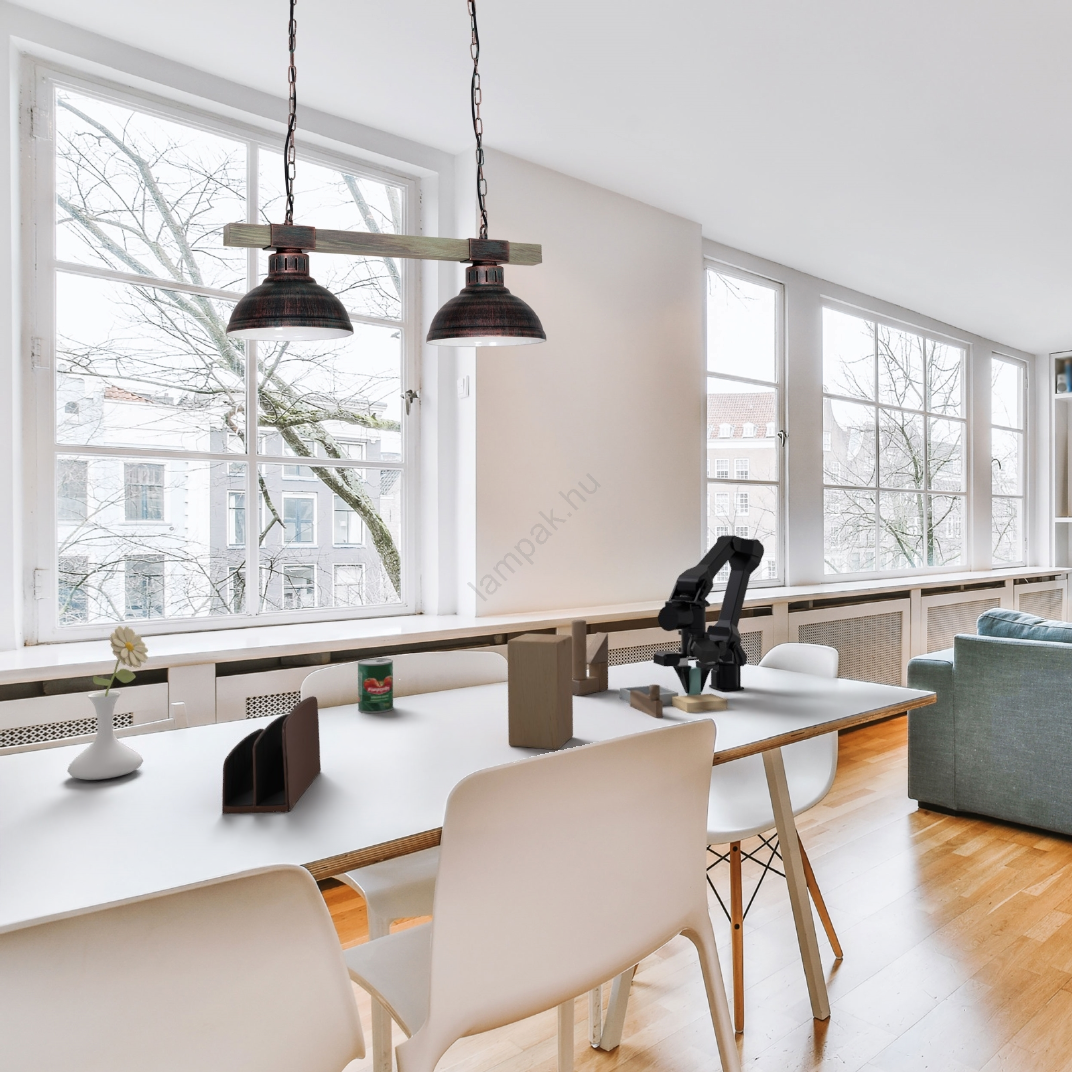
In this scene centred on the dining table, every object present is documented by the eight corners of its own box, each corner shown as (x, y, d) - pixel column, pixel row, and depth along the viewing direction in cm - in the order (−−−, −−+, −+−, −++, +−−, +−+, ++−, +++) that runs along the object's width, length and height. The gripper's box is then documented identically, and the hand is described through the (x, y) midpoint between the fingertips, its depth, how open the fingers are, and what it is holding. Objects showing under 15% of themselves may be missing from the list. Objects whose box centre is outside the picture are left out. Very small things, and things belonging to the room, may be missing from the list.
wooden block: (573, 736, 161) (572, 634, 160) (558, 750, 151) (557, 642, 151) (525, 733, 164) (524, 633, 163) (507, 746, 154) (506, 640, 154)
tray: (657, 695, 198) (657, 684, 198) (678, 703, 188) (678, 692, 188) (619, 698, 194) (619, 688, 194) (639, 707, 185) (639, 696, 185)
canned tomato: (374, 714, 181) (373, 665, 180) (350, 710, 185) (350, 661, 185) (400, 708, 187) (400, 660, 187) (377, 703, 192) (376, 656, 192)
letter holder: (321, 772, 140) (319, 690, 140) (289, 813, 120) (288, 717, 120) (262, 773, 140) (260, 691, 140) (221, 815, 120) (219, 719, 120)
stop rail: (637, 705, 187) (637, 677, 187) (663, 717, 176) (663, 686, 176) (629, 706, 186) (628, 677, 186) (654, 718, 175) (654, 687, 175)
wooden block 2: (608, 689, 205) (608, 617, 205) (579, 696, 197) (579, 621, 197) (597, 687, 208) (597, 616, 207) (568, 694, 200) (568, 620, 200)
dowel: (696, 696, 196) (696, 666, 196) (703, 698, 193) (703, 669, 193) (684, 697, 195) (684, 667, 195) (691, 699, 192) (691, 670, 192)
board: (711, 704, 189) (711, 693, 189) (727, 711, 183) (727, 699, 183) (672, 707, 186) (672, 696, 186) (687, 714, 180) (687, 703, 180)
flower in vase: (91, 790, 131) (88, 634, 131) (53, 779, 137) (50, 629, 137) (166, 768, 142) (163, 625, 142) (127, 759, 148) (125, 621, 148)
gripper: (675, 633, 183) (676, 703, 184) (746, 628, 190) (747, 696, 190) (652, 627, 194) (652, 693, 194) (720, 623, 200) (720, 687, 201)
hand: (693, 692), depth 194 cm, fingers closed on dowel, 3 cm apart
